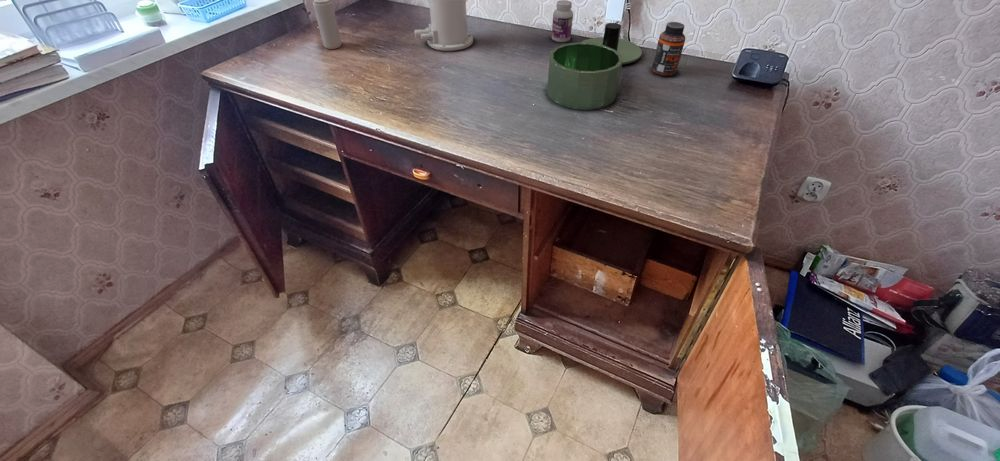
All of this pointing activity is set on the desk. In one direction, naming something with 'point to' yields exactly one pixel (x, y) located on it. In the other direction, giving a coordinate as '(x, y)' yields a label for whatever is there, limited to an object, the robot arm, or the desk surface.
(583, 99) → the waste tin
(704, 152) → the desk surface
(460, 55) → the desk surface
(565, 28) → the pill bottle
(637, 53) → the tin lid
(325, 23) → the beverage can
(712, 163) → the desk surface
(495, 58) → the desk surface
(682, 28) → the supplement bottle
